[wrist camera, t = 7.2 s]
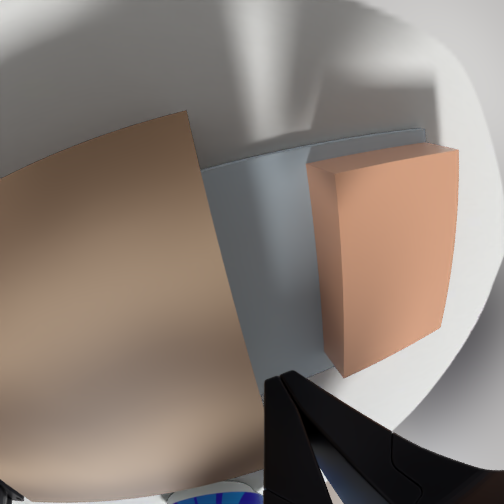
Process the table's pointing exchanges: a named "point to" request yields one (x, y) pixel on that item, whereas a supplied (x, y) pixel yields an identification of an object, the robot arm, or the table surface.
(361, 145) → the mat
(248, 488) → the beer can
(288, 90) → the table surface
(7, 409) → the brown box
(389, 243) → the peach rectangular block
